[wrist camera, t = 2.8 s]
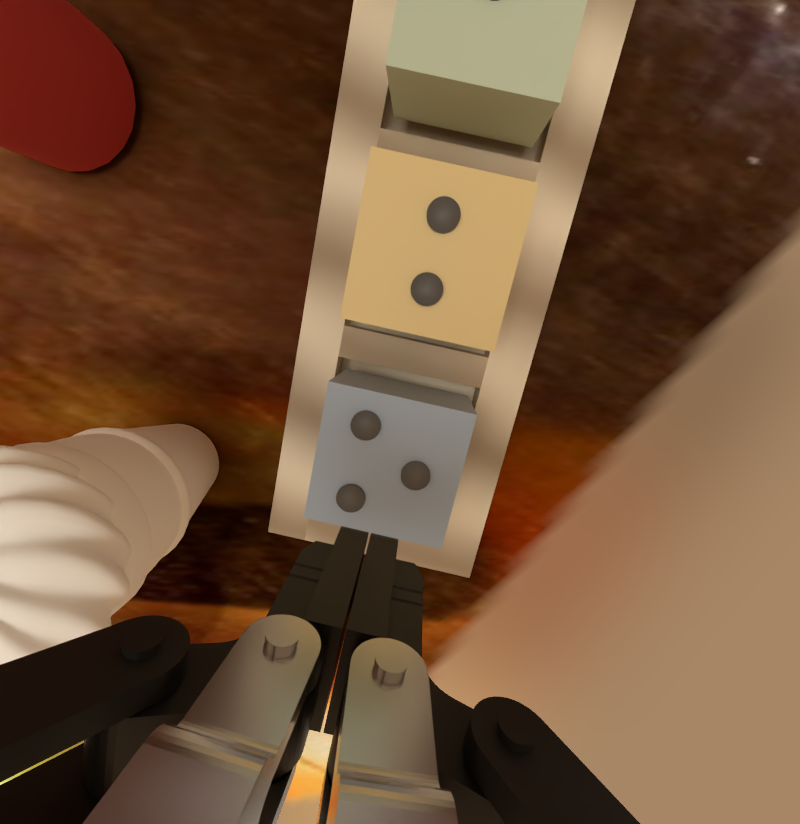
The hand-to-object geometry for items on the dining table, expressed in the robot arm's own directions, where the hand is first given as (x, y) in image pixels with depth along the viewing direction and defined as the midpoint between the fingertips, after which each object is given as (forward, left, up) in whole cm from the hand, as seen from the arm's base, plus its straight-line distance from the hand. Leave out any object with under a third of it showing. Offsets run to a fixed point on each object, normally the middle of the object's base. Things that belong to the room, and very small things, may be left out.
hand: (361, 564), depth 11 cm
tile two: (-9, 0, -11) cm, 14 cm away
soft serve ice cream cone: (+4, -12, -13) cm, 18 cm away
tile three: (0, 0, -11) cm, 11 cm away
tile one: (-17, 0, -11) cm, 20 cm away
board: (-9, 0, -13) cm, 15 cm away
